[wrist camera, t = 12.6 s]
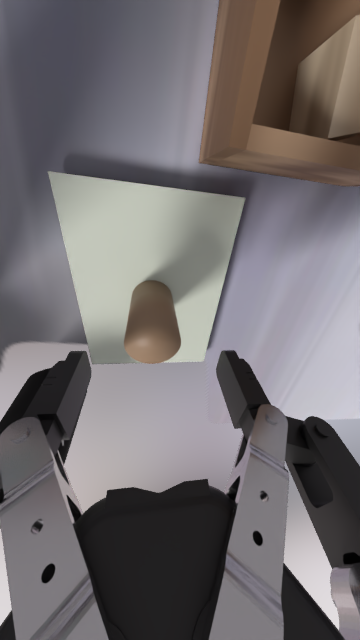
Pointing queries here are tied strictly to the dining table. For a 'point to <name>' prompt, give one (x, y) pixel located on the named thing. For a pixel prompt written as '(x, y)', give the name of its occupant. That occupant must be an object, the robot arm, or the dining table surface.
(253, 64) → the box
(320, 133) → the maple cube
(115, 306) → the lid
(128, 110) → the dining table surface
